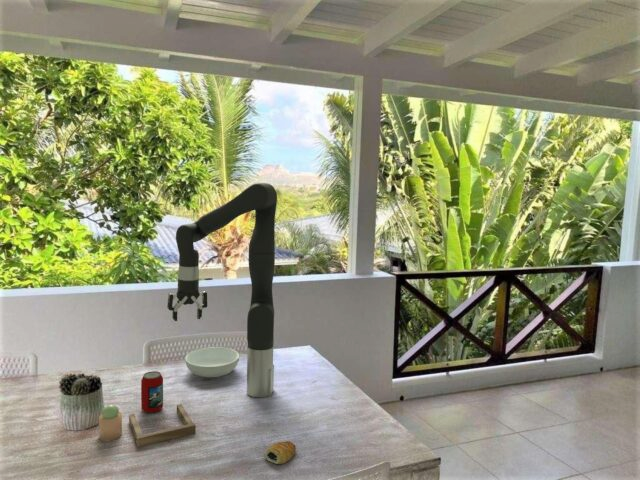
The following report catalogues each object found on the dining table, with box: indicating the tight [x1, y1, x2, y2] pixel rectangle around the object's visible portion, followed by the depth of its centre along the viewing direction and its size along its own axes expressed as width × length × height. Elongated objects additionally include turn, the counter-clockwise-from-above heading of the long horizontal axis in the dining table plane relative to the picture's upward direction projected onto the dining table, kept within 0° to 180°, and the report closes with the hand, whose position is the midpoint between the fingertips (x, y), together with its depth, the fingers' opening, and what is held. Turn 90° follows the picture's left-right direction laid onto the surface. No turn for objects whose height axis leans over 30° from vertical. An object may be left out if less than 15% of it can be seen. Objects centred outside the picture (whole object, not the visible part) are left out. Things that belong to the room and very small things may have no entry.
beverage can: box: [140, 370, 164, 414], centre depth 153 cm, size 7×7×12 cm
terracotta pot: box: [98, 404, 123, 442], centre depth 136 cm, size 6×6×9 cm
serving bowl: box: [184, 346, 240, 378], centre depth 185 cm, size 21×21×7 cm
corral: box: [128, 403, 196, 448], centre depth 142 cm, size 16×16×2 cm
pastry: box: [263, 440, 297, 465], centre depth 130 cm, size 9×7×4 cm
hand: (187, 319), depth 175 cm, fingers open, 8 cm apart
